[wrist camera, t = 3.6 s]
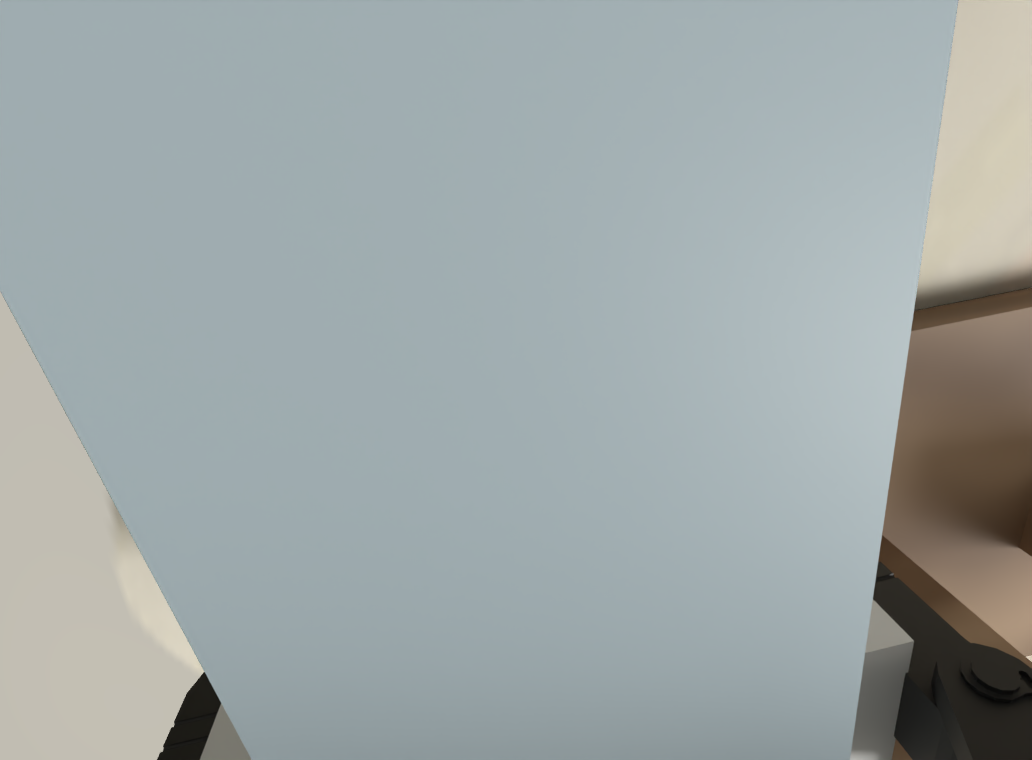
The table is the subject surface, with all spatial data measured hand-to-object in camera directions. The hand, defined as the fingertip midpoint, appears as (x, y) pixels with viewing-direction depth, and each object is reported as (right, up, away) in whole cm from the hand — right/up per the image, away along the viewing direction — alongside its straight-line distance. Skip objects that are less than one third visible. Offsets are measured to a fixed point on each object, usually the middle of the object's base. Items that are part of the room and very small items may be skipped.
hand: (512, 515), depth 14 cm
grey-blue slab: (-1, +5, 0) cm, 5 cm away
